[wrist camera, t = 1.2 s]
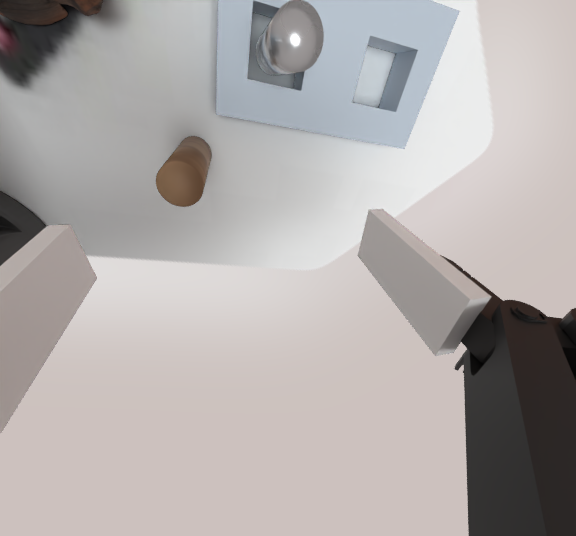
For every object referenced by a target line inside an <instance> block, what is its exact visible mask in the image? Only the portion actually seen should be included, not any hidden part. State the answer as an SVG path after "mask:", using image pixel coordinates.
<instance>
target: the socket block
mask: <svg viewBox="0 0 576 536" xmlns="http://www.w3.org/2000/svg"><path fill="white" fill-rule="evenodd" d="M288 1H291V0H218V32H217V85H216V115H222V116H227V117H233V118H238V119H244V120H249V121H254V122H260V123H265V124H271V125H276V126H282V127H287V128H292V129H298V130H303V131H309V132H314V133H320V134H325V135H330V136H336V137H341V138H347V139H352V140H358V141H363V142H368V143H374V144H379V145H385V146H390V147H396V148H401V149H405V146H406V144H407V141H408V139H409V136H410V134H411V131H412V129H413V126H414V124H415V121H416V119H417V116H418V114H419V111H420V109H421V106H422V104H423V101H424V99H425V96H426V94H427V91H428V89H429V86H430V84H431V81H432V79H433V76H434V74H435V71H436V69H437V66H438V64H439V61H440V59H441V56H442V54H443V51H444V49H445V46H446V44H447V41H448V39H449V36H450V34H451V31H452V29H453V26H454V24H455V21H456V19H457V16H458V14H459V11H458V10H455V9H453V8H450V7H447V6H444V5H442V4H439V3H436V2H433V1H431V0H304V1H306V2H308V3H309V4H311V5H312V6H313V7H314V8H315V9H316V11H317V12H318V14H319V16H320V18H321V21H322V25H323V31H324V41H323V47H322V51H321V53H320V56H319V58H318V59H317V61H316V62H315V63H314V65H313V66H312V67H310V68H309V69H307V70H306V71H303V72H298V73H296V74H295V80H294V87H293V89H290V88H286V87H282V86H277V85H273V84H268V83H264V82H259V81H255V80H250V79H247V77H248V64H249V50H250V36H251V23H252V12H254V13H258V14H261V15H265V16H268V17H272V18H273V17H274V16H275V14H276V13H277V11H278V10H279V9H280V7H281V6H282V5H284V4H285V3H286V2H288ZM367 45H368V46H372V47H375V48H378V49H382V50H385V51H389V52H392V53H396V55H395V58H394V61H393V64H392V68H391V71H390V74H389V77H388V80H387V83H386V86H385V89H384V92H383V96H382V99H381V102H380V105H379V108H375V107H371V106H366V105H362V104H357V103H353V102H352V101H353V97H354V93H355V90H356V86H357V82H358V78H359V75H360V71H361V67H362V64H363V60H364V56H365V52H366V49H367Z"/></svg>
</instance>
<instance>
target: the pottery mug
mask: <svg viewBox="0 0 576 536" xmlns="http://www.w3.org/2000/svg"><path fill="white" fill-rule="evenodd" d="M102 3H103V0H0V14H1V15H3V16H5V17H7V18H9V19H11V20H14V21H17V22H21V23H25V24H29V25H49V24H52V23H54V22H57V21H59V20H61V19H63V18H65V17H66V16H67V15H68V13H67V11H66V10H65V9H64V8H63V7H62V6H61V4H67V5H70V6H73V7H75V8H76V9H77V10H79V11H80V12H81V13H83V14H84V15H87V16H89V15H92V14H97V13H99V12H100V10H101V5H102Z"/></svg>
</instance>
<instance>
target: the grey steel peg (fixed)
mask: <svg viewBox="0 0 576 536" xmlns="http://www.w3.org/2000/svg"><path fill="white" fill-rule="evenodd" d="M323 41H324V31H323V25H322V21H321V18H320V16H319V14H318V12H317V11H316V9H315V8H314V7H313V6H312V5H311V4H309V3H308V2H306V1H304V0H291V1H288V2H286V3H285V4H284V5H282V6H281V7H280V9H279V10H278V11H277V13H276V14H275V16H274V17H273V19H272V20H271V22H270V23H269V25H268V26H267V28H266V29H265V30H264V32H263V33H262V35H261V36H260V38H259V40H258V42H257V45H256V58H257V62H258V64H259V66H260V68H261V69H262V70H263V71H264V72H265V73H267V74H269V75H282V74H290V73H298V72H303V71H306V70H307V69H309V68H310V67H312V66H313V65H314V63H315V62H316V61H317V59H318V58H319V56H320V53H321V51H322V47H323Z"/></svg>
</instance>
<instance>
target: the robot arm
mask: <svg viewBox="0 0 576 536" xmlns="http://www.w3.org/2000/svg"><path fill="white" fill-rule="evenodd" d="M358 257H359V258H360V259H361V261H362V262H363V263H364V265H365V266H366V267H367V268H368V270H369V271H370V272H371V273H372V275H373V276H374V277H375V279H376V280H377V281H378V283H379V284H380V285H381V286H382V288H383V289H384V290H385V291H386V293H387V294H388V296H389V297H390V298H391V299H392V301H393V302H394V303H395V305H396V306H397V307H398V308H399V310H400V311H401V312H402V313H403V315H404V316H405V318H406V319H407V320H408V321H409V323H410V324H411V325H412V327H413V328H414V329H415V330H416V332H417V333H418V334H419V335H420V337H421V338H422V340H423V341H424V342H425V343H426V345H427V346H428V347H429V349H430V350H431V351H432V352H433V354H434V355H435V356H438V355H443V354H449V353H454V351H455V350H456V348H457V347H458V345H459V344H460V342H462V343H463V344H464V345H465V346H466V347H467V350H466V351H465V353H464V354H463V355H462V357H461V358H460V360H459V361H458V362H457V364H456V366H455V369H456V370H458V369H459V368H460V367H461V365H464V371H463V373H464V387H465V423H466V454H467V455H466V457H467V489H468V490H467V491H468V524H469V536H576V308H574V309H572V310H571V311H570V312H569V313H568V314H567V315H566V316H565V317H564V318H563V319H561V318H553V317H547V316H546V315H545V314H543V313H542V312H541V311H540V310H537V309H536V308H534V307H533V306H531V305H528V304H525V303H523V302H520V301H515V300H505V301H503V300H501V299H500V298H499V297H497V296H496V295H495V294H494V293H492V292H491V291H490V290H489V289H487V288H486V287H485V286H484V285H482V284H481V283H480V282H478V281H477V280H476V279H475V278H473V277H471V275H469V274H468V273H467V272H466V271H463V269H462V268H461V267H459V266H458V265H457V264H456V263H454V262H453V261H451V260H449V259H447V258H445V257H443V256H441V255H439V254H438V253H437V252H435V251H434V250H433V249H432V248H430V247H429V246H428V245H427V244H425V243H424V242H423V241H422V240H420V239H419V238H418V237H417V236H415V235H414V234H413V233H412V232H410V231H409V230H408V229H407V228H405V227H404V226H403V225H402V224H400V223H399V222H398V221H397V220H396V219H394V218H393V217H392V216H391V215H389V214H388V213H387V212H386V211H384V210H383V209H373V210H369V211H368V215H367V219H366V223H365V228H364V232H363V236H362V240H361V245H360V248H359V253H358ZM96 279H97V277H96V275H95V273H94V271H93V269H92V267H91V265H90V263H89V261H88V259H87V257H86V255H85V253H84V251H83V249H82V247H81V245H80V243H79V241H78V239H77V237H76V235H75V233H74V231H73V229H72V227H71V225H70V224H66V225H48V226H47V227H46V226H45V225H44V224H43V223H42V222H41V221H40V220H39V219H38V218H37V217H36V216H35V215H34V214H33V213H32V212H30V211H29V210H28V209H27V208H25V207H24V206H23V205H21V204H20V203H19V202H17V201H15V200H14V199H12V198H11V197H9V196H7V195H6V194H4V193H2V192H0V433H1V432H2V431H3V429H4V428H5V426H6V424H7V423H8V421H9V419H10V417H11V416H12V415H13V413H14V411H15V410H16V408H17V407H18V405H19V403H20V402H21V400H22V398H23V397H24V395H25V393H26V392H27V390H28V389H29V387H30V386H31V384H32V382H33V381H34V379H35V377H36V376H37V374H38V373H39V371H40V369H41V368H42V366H43V365H44V363H45V361H46V360H47V358H48V356H49V355H50V353H51V351H52V350H53V348H54V347H55V345H56V344H57V342H58V340H59V339H60V337H61V336H62V334H63V332H64V331H65V329H66V327H67V326H68V324H69V323H70V321H71V319H72V318H73V316H74V315H75V313H76V311H77V309H78V308H79V306H80V305H81V303H82V302H83V300H84V298H85V297H86V295H87V293H88V292H89V290H90V289H91V287H92V285H93V284H94V282H95V281H96Z"/></svg>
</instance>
